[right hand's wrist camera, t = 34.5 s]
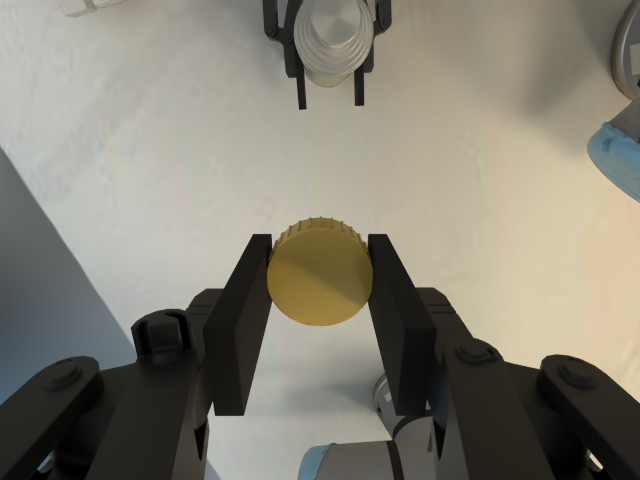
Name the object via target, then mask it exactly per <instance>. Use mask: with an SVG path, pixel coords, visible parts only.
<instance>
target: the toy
mask: <svg viewBox="0 0 640 480" xmlns="http://www.w3.org/2000/svg"><path fill="white" fill-rule="evenodd" d="M56 1H57V3H58V5H59V6H60V8H61V10H62V12H63V14H64V16H70V17H78V16H81V15H84V14H87V13H90V12H93V11H96V10H97V8H96V6H100V7H108V6H111V5H114V4H117V3H120V2H123V1H126V0H56Z"/></svg>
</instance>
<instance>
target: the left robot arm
mask: <svg viewBox="0 0 640 480" xmlns="http://www.w3.org/2000/svg"><path fill="white" fill-rule="evenodd" d="M363 1H364V2H365V3H366V5H367V1H366V0H363ZM302 2H303V0H288V5H287V11H286V17H285V23H284V29H283V28H280V27H278V11H277V0H263V15H264V31H265V34H266V35H267V37H268V38H269V39H270V40H272V41H276V42H279V43H281V44H282V45H283V47H284V57H285V68H286V74H287V76H288V78H297V89H298V102H299V110H303V109H307V107H306V93H305V79H304V65H303V63H302V60H301V58H300V56H299V53H298V51H297V48H296V45H295V40H294V24H295V19H296V16H297V13H298V11H299V9H300V7H301V5H302ZM367 7H368V5H367ZM368 9H369V8H368ZM375 11H376V21H374V22H373V41H372V45H371V48H370V51H369V53H368V55H367V57H366V58H365V60H364V61H363V63H362V64H361V65H360V66H359V67H358V68H357V69H356V70H355V71H354V83H355V106H364V73H370V72H372V69H373V67H374V61H373V60H374V57H373V56H374V49H373V42H374V38H375V37H376V36H377V35H379V34H381V33H384V32H385V31H386V30H387V29H388V28H389V27H390V26H391V22H392V19H391V0H375ZM611 69H612V74H613V77H614V80H615V82H616V84H617V86H618V88H619V89H620V90H621V92H622V93H623V94H624V95H625V96H627V97H628V98H630V99H631V100H633V102H632V103H631V104H629V105H628V106H627V107H626V108H625V109H624V110H623V111H622V112H620V113H619V114H618V115H617V116H616V117H614V118H613V119H612V120H611V121H609V122H608V123H607V122H605V123H604V124H602V127H601V128H600V129H599V130H598V131H597V132H596V133H595V134H594V135H593V136H592V137H591V138H590V140H589V141H588V144H587V151H588V154H589V156H590V158H591V160H592V161H593V163H594V164H595V165H596V167H597V168H598V169H599V170H600V171H601V172H602V173H603V174H604V175H605V176H606V177H607V178H608V179H609V180H610V181H611V182H612V183H613V184H615V185H616V186H617V187H618V188H620V189H621V190H622V191H623V192H625V193H626V194H627V195H629V196H630V197H632V198H633V199H635V200H636V201H638V202H639V203H640V0H634V1H633V2H632V3H631V5H630V6H629V8H628V9H627V11H626V12H625V14H624V16H623V18H622V19H621V21H620V24H619V26H618V28H617V31H616V33H615V36H614V40H613V44H612V50H611Z"/></svg>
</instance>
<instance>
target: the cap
mask: <svg viewBox="0 0 640 480" xmlns="http://www.w3.org/2000/svg"><path fill="white" fill-rule="evenodd" d="M268 261H269V264H268V268H267V284H268V291H269V294H270V296H271V298H272V300H273V302H274V303H275V305H276V306H277V307H278V308H279V309H280V311H282V312H283V313H284V314H285V315H287V316H288V317H289V318H291V319H293V320H295V321H297V322H300V323H303V324H307V325H312V326H329V325H334V324H337V323H341V322H343V321H345V320H347V319H349V318H351V317H352V316H354V315H355V314H356V313H358V312H359V311H360V310H361V309H362V308H363V306H364V305H365V304H366V302H367V301H368V299H369V297H370V295H371V292H372V280H373V267H372V264H371V263H372V260H371V257H370V254H369V251H368V248H367V245H366V243H365V241H364V242H363V240H362V239H361V236H360V234H359V233H358V234H357V233H356V232H355V231H354V230H353V228H352V227H351V226H350V227H349V226H347V225H346V224H344V223H343V221H341V222H339V221H337V220H333V218H331V219H328V218H322V217H320V218H311V217H310V218H309V219H307V220H304V221H298V223H296V224H294V225H293V226H291V225H290V226H289V228H288V229H287V230H286V231H285V232H284V233H283V232H282V233H281V236H280V238H279V239H278V241H277V240H276V241H275V244H274V247H273V249H272V251H271V253H270V256H269V259H268Z"/></svg>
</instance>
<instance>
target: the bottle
mask: <svg viewBox="0 0 640 480" xmlns="http://www.w3.org/2000/svg"><path fill="white" fill-rule="evenodd" d="M294 40H295V45H296V48H297V51H298V53H299V56H300V58H301V60H302V63H303V65H304V67H305V70H306V72H307V74H308V76H309V78H310V79H311V80H312V81H313V82H314V83H315V84H316V85H318V86H321V87H325V88H330V87H334V86H336V85H338V84H340V83H341V82H342V81H343V80H344V79H346V78H347V77H348V76H349V75H350V74H351V73H352V72H353V71H355V70H356V69H357V68H358V67H359V66H360V65H361V64H362V63H363V61H364V60H365V58H366V57H367V55H368V53H369V51H370V48H371V45H372V41H373V21H372V17H371V13H370V11H369V9H368V7H367V5H366V3H365V2H364V1H363V0H305V1H304V2H303V3H302V5H301V7H300V9H299V11H298V13H297V16H296V19H295V24H294Z"/></svg>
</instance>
